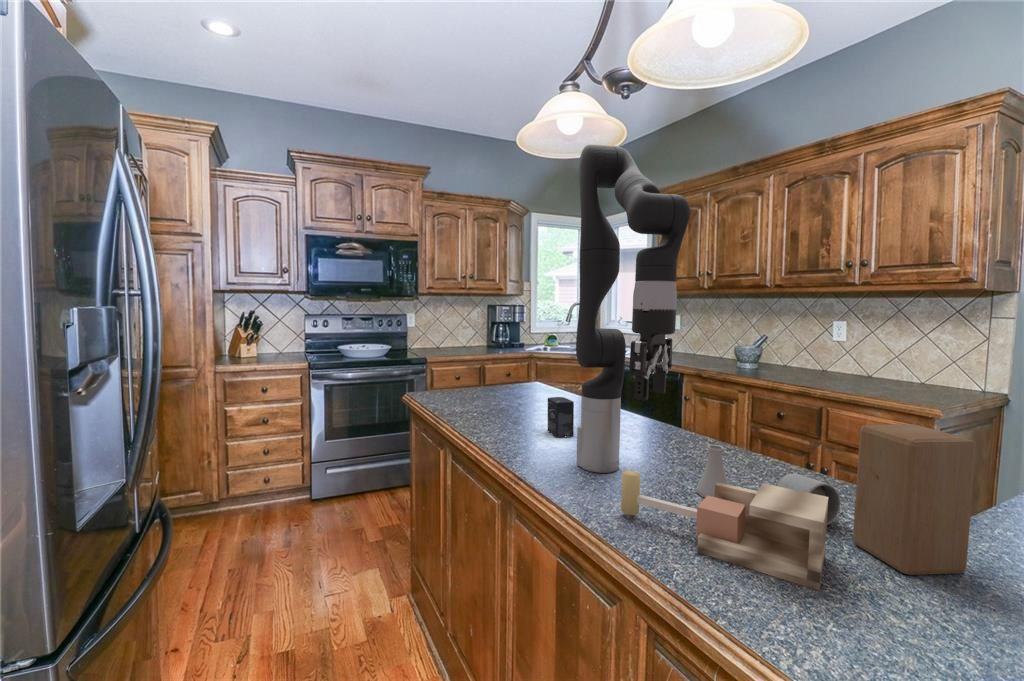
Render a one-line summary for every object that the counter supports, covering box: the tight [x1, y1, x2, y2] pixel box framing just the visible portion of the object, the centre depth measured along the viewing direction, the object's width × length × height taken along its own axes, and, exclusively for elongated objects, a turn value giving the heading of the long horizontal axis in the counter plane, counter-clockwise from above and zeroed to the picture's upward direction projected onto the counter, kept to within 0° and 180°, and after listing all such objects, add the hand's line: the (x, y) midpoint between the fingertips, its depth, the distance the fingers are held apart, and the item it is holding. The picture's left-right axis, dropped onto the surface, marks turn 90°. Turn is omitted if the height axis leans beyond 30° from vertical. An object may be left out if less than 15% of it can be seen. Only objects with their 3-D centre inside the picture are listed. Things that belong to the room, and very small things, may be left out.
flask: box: [694, 444, 730, 498], centre depth 96 cm, size 7×7×10 cm
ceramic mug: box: [775, 473, 841, 525], centre depth 86 cm, size 11×8×8 cm
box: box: [547, 396, 575, 438], centre depth 141 cm, size 8×6×11 cm
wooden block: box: [852, 423, 977, 576], centre depth 71 cm, size 10×10×20 cm
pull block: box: [620, 470, 746, 544], centre depth 80 cm, size 20×6×7 cm, turn 53°
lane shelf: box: [696, 482, 828, 591], centre depth 72 cm, size 16×11×10 cm
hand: (650, 396), depth 85 cm, fingers open, 8 cm apart
